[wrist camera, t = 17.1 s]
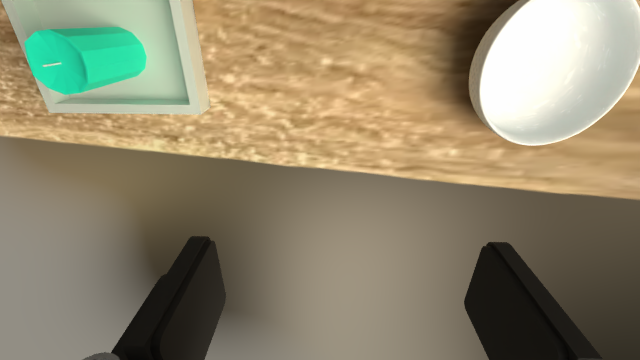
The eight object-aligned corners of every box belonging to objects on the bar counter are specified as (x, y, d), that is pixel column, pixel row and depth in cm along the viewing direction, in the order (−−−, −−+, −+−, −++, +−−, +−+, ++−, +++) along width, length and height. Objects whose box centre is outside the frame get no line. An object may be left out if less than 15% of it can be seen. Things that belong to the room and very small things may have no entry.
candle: (143, 31, 37) (69, 35, 26) (149, 81, 40) (84, 103, 29) (93, 22, 36) (-3, 23, 26) (103, 73, 39) (19, 93, 29)
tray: (23, -12, 36) (-6, -15, 32) (190, -12, 35) (177, -15, 32) (69, 105, 42) (49, 112, 39) (210, 107, 42) (201, 114, 39)
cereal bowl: (580, 114, 41) (625, 131, 35) (455, 138, 43) (476, 158, 37) (608, -33, 33) (672, -45, 27) (453, 5, 35) (480, 2, 29)
